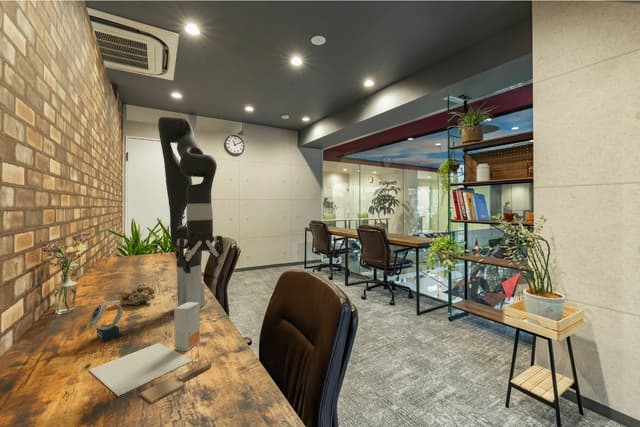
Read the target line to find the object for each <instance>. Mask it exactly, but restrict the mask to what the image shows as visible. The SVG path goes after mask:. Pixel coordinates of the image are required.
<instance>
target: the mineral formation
mask: <svg viewBox="0 0 640 427" xmlns="http://www.w3.org/2000/svg"><path fill="white" fill-rule="evenodd" d="M137 286H138V287H136V288H135V289H132V291H131V290H126V289H124V290H123V289H121V290H119V292H118V298H117V300H118V301H120V302H119V303H118V305H120V306H127V305H134V306H139V305H140V304H143V303H144V302H148V301H149V300H154V299H155V298H156V292H155V288H154V287H152V286H151V285H146V283H144V282H141V283H139V284H138V285H137Z"/></svg>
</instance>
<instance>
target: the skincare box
mask: <svg viewBox="0 0 640 427" xmlns="http://www.w3.org/2000/svg"><path fill="white" fill-rule="evenodd" d="M173 316H174V317H173V323H174V351H181V352H182V351H183V352H188V351H189V350H191V349H192V348H193V347H195V346H196V345H197V344H199V343H200V342H201V329H200V328H201V327H200V325H201V324H200V321H201V319H200V318H201V317H200V308H199V303H194V302H187V303H185V304H182V305H180V306H179V307H178V306H177V307H175V308H173Z"/></svg>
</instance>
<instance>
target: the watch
mask: <svg viewBox="0 0 640 427" xmlns="http://www.w3.org/2000/svg"><path fill="white" fill-rule="evenodd" d="M109 305H116V306H117V308H118V310H117V312H116V316H115V318H114V319H113V321H112V323H110V324H106V325H103V326H98V325H97V324H98V322H99V321H100V320H101V319H102V317H103V316H104V314H105V310H106V309H107V307H108V306H109ZM123 313H124V312H123V307H122V305H119V303H117V302H113V301H106V302H103V303H101V304H99V305H97V306H96V307H95V308H94V310H92V313H91V316H90V322H91V324H92V325H93V326H94V327H95V328H96V338H97V340H99V341H100V342H101V343H106V342H109V341H113V340H115V339H119V338H120V328H119V326H117V325H118V323H119V322H120V321H121V319H122V316H123Z"/></svg>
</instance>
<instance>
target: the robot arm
mask: <svg viewBox="0 0 640 427" xmlns="http://www.w3.org/2000/svg"><path fill="white" fill-rule="evenodd" d="M157 121H158V122H157V126H158V134H159V139H160V140H159V141H160V146H161V151H162V156H163V157H162V158H163V163H164V164H163V166H164V176H165V184H166V185H165V186H166V193H167V199H168V207H169V208H168V209H169V224H170V225H169V227H170V232H169V233H170V242H171V244H172V248H175V259H176V284H177V286H176V287H177V289H176V290H177V307H179V306H180V305H182V304H185V303H187V302H194V303H199V309H200V308H202V307H203V306H205V305H206V304H205V303H206V301H205V282H203V276H202V275H203V273H202V272H203V271H202V257H203V252H207V253H208V254H209V255H210V268H211V269H217V268H218V266H219V263H218V261H219V256H220V255H223V254H224V244H223V236H222V235H215V236H214V235H213V233H214V221H213V219H214V218H213V217H214V215H213V207H212V188H213V183H214V179H215V175H216V172H217V169H218V168H217V166H218V164H217V161H216V159H215V158H214V157H213V155H211V154H210V155H208V154H204V152H203V150H202V148H201V147H200V145H199V144H198V142H197V139H196V136H195V133H194V130H193V129H194V128H193V127H192V124H191V122H190V121H189V120H188V119H186V118H184V117H170V116H161V117H160V118H159V119H158V120H157ZM172 143H173V144H175V143H176V151H177V153H178V156H179V157H180V158H179V159H180V160H179V159H178V157H177V155H176V154H175V151H174V149H173V147H172ZM193 177H194V178H202V181H201V182H200V183H196V184H195V183H194V184H193V180H192V178H193ZM185 211H186V214H185ZM184 214H185V215H186V225H184V224H183V218H184V217H183V216H184ZM213 243H215V244H214V245H215V247H214V245H213Z"/></svg>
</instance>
